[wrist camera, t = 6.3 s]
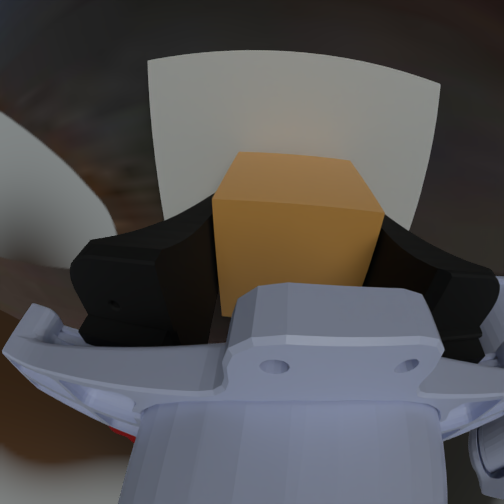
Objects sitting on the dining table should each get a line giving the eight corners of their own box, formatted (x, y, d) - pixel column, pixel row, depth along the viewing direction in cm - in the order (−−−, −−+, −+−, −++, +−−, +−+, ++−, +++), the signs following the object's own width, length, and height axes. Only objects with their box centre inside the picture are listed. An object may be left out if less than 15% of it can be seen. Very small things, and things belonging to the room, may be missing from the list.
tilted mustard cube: (350, 160, 11) (384, 212, 7) (333, 250, 14) (347, 324, 10) (238, 151, 12) (211, 199, 8) (239, 243, 15) (222, 315, 11)
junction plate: (431, 82, 9) (478, 92, 6) (378, 289, 18) (392, 336, 14) (156, 61, 10) (110, 61, 7) (181, 274, 19) (162, 320, 15)
